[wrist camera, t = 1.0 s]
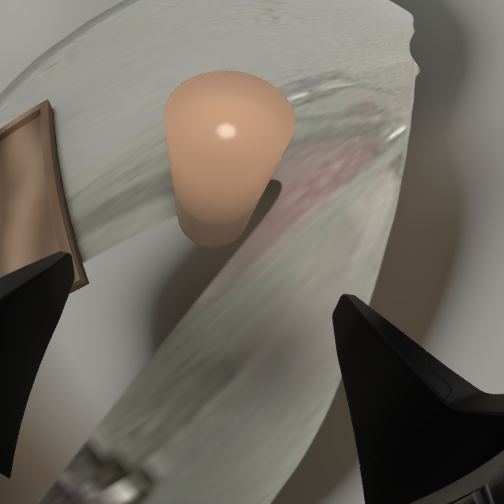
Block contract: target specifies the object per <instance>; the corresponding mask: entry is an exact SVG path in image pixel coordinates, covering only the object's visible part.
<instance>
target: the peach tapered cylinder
mask: <svg viewBox="0 0 504 504" xmlns="http://www.w3.org/2000/svg"><path fill="white" fill-rule="evenodd" d="M164 117H165V127H166V137H167V145H168V154H169V162H170V169H171V177H172V184H173V191H174V197H175V204H176V210H177V216H178V221H179V225H180V227H181V229H182V231H183V232H184V234H185V235H186V236H187V237H188V238H189V239H190V240H192V241H193V242H195V243H197V244H199V245H202V246H206V247H221V246H225V245H228V244H230V243H232V242H233V241H235V240H236V239H237V238H238V237H239V236H240V235H241V234H242V233H243V231H244V229H245V228H246V226H247V224H248V222H249V220H250V218H251V216H252V214H253V212H254V210H255V208H256V206H257V204H258V202H259V200H260V198H261V196H262V194H263V192H264V190H265V188H266V186H267V184H268V182H269V180H270V178H271V176H272V174H273V172H274V170H275V168H276V166H277V164H278V163H279V161H280V159H281V157H282V155H283V153H284V151H285V149H286V147H287V145H288V143H289V141H290V139H291V137H292V135H293V133H294V129H295V115H294V111H293V109H292V106H291V104H290V103H289V101H288V100H287V98H286V97H285V96H284V95H283V94H282V93H281V92H280V91H279V90H278V89H277V88H276V87H274V86H273V85H272V84H270V83H268V82H267V81H265V80H263V79H261V78H258V77H256V76H253V75H250V74H246V73H242V72H236V71H214V72H208V73H204V74H200V75H197V76H195V77H192V78H190V79H188V80H186V81H185V82H183V83H182V84H180V85H179V86H178V87H177V88H176V89H175V90H174V91H173V92H172V93H171V95H170V97H169V98H168V100H167V103H166V106H165V113H164Z"/></svg>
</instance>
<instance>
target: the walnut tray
mask: <svg viewBox="0 0 504 504" xmlns="http://www.w3.org/2000/svg"><path fill="white" fill-rule="evenodd" d="M59 251H63V252H68V253H70V254H71V255H72V258H73V265H74V272H75V279H74V283H73V285H72V288H71V290H70V293H72V292H74V291H76V290H78V289H80V288H81V287H83V286H85V285H87V284H89V281H88V278H87V276H86V272H85V269H84V267H83V263H82V260H81V257H80V254H79V251H78V247H77V244H76V240H75V237H74V233H73V229H72V225H71V222H70V218H69V213H68V209H67V205H66V200H65V195H64V190H63V185H62V180H61V174H60V168H59V162H58V155H57V147H56V139H55V129H54V116H53V109H52V107H51V105H50V103H49V101H48V99H47V100H46V101H44V102H42V103H40V104H39V105H37V106H35V107H33V108H32V109H30V110H28V111H27V112H25V113H24V114H22V115H20V116H19V117H17V118H16V119H14V120H13V121H11V122H10V123H8V124H7V125H5V126H4V127H3V128H1V129H0V277H2V276H4V275H6V274H9V273H11V272H13V271H15V270H17V269H20V268H22V267H24V266H26V265H29V264H31V263H33V262H35V261H38V260H40V259H42V258H45V257H47V256H49V255H52V254H54V253H57V252H59ZM70 293H69V294H70Z"/></svg>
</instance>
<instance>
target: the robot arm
mask: <svg viewBox="0 0 504 504" xmlns="http://www.w3.org/2000/svg"><path fill="white" fill-rule="evenodd" d="M74 279H75V272H74V265H73V258H72V255H71V254H70V253H68V252H63V251H59V252H57V253H54V254H52V255H49V256H47V257H45V258H42V259H40V260H38V261H35V262H33V263H31V264H29V265H26V266H24V267H22V268H20V269H17V270H15V271H13V272H11V273H9V274H6V275H4V276H2V277H0V473H1V474H2V475H4V476H6V477H8V478H9V479H10V476H11V471H12V465H13V459H14V454H15V449H16V444H17V439H18V435H19V431H20V427H21V422H22V419H23V415H24V412H25V408H26V405H27V402H28V398H29V395H30V392H31V389H32V386H33V383H34V380H35V377H36V374H37V372H38V369H39V366H40V364H41V361H42V358H43V356H44V354H45V351H46V349H47V346H48V344H49V342H50V339H51V337H52V335H53V333H54V330H55V328H56V326H57V324H58V321H59V319H60V317H61V314H62V312H63V309H64V306H65V303H66V301H67V298H68V295H69V293H70V290H71V288H72V285H73V283H74ZM332 320H333V327H334V335H335V342H336V350H337V356H338V361H339V365H340V370H341V374H342V378H343V383H344V387H345V392H346V396H347V401H348V406H349V411H350V416H351V421H352V426H353V431H354V436H355V441H356V447H357V453H358V458H359V464H360V471H361V478H362V485H363V491H364V499H365V504H504V394H489V393H485V392H483V391H481V390H479V389H478V388H476V387H475V386H473V385H472V384H471V383H469V382H468V381H466V380H465V379H463V378H462V377H460V376H459V375H458V374H456V373H455V372H453V371H452V370H451V369H449V368H448V367H447V366H445V365H444V364H443V363H441V362H440V361H439V360H437V359H436V358H435V357H434V356H432V355H431V354H430V353H429V352H426V350H425V349H424V348H422V347H421V346H420V345H419V344H417V343H416V342H414V341H413V340H412V339H411V338H410V337H408V336H407V335H406V334H404V333H403V332H402V331H401V330H399V329H398V328H397V327H395V326H394V325H393V324H391V323H390V322H389V321H388V320H386V319H385V318H384V317H382V316H381V315H380V314H379V313H377V312H376V311H375V310H373V309H372V308H371V307H369V306H368V305H367V304H365V303H364V302H363V301H361V300H360V299H359V298H357V297H356V296H355V295H350V294H343V295H342V296H341V297H340V299H339V301H338V303H337V306H336V308H335V310H334V312H333V316H332Z"/></svg>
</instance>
